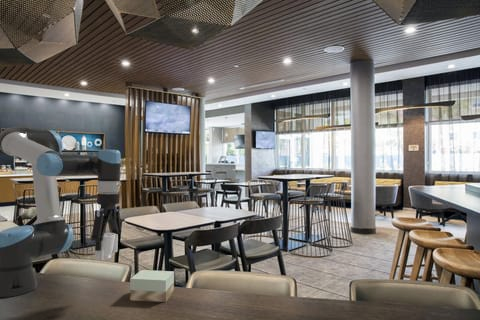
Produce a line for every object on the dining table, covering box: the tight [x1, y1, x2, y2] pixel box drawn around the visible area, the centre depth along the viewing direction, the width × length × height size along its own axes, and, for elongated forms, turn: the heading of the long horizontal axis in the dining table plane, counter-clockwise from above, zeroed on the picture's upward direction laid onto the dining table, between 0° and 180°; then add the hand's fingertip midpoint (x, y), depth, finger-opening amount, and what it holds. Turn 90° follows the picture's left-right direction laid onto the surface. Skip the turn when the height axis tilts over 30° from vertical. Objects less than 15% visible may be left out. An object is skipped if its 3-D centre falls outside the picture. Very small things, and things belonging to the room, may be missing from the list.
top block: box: [129, 269, 175, 292], centre depth 120 cm, size 13×10×4 cm
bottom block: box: [129, 282, 175, 303], centre depth 120 cm, size 13×10×4 cm
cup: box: [103, 232, 115, 260], centre depth 116 cm, size 7×10×8 cm
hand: (106, 255), depth 116 cm, fingers closed on cup, 10 cm apart
